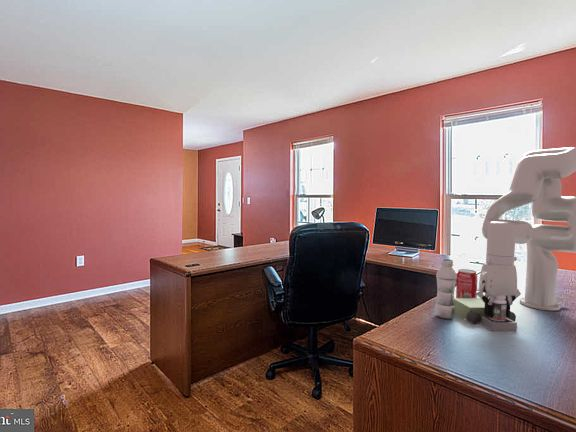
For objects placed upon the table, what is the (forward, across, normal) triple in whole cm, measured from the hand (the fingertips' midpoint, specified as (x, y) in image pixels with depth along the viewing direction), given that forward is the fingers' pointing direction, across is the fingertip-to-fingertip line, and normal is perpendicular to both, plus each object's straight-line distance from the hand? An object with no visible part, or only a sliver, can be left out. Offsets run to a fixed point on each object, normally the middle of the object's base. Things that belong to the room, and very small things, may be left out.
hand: (496, 315), depth 105 cm
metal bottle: (+4, +13, -8) cm, 16 cm away
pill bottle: (+1, 0, 0) cm, 1 cm away
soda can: (+4, -4, -22) cm, 23 cm away
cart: (+3, 0, -5) cm, 6 cm away
